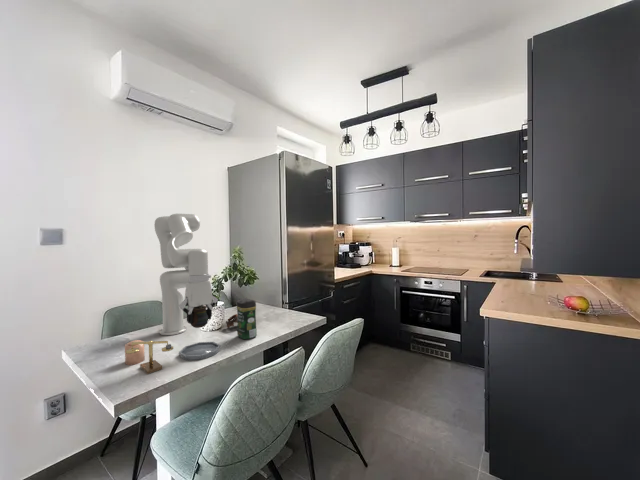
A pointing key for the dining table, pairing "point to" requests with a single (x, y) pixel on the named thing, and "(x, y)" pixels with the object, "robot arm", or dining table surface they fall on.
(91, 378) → the dining table surface
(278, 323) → the dining table surface
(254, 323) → the coffee jar
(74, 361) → the dining table surface
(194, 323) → the mate gourd
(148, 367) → the balance
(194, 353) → the dish
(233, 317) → the pottery mug
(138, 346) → the terracotta cup
